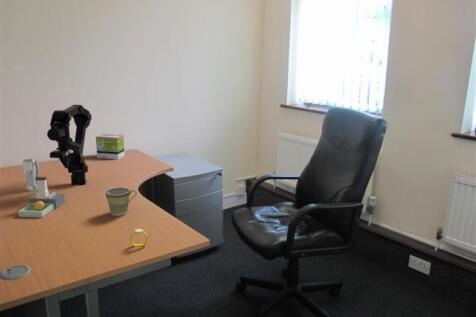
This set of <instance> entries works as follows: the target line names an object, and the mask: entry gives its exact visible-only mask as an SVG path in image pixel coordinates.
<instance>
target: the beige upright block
mask: <svg viewBox="0 0 476 317" xmlns="http://www.w3.org/2000/svg"><path fill="white" fill-rule="evenodd" d="M47 178H48V177H47V176H39V177H36V181H37V190H35V194H36V199H47V198H48V197H47V196H49V193H50V192H49V189H48V182H47V180H48V179H47Z"/></svg>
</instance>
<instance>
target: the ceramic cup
mask: <svg viewBox="0 0 476 317" xmlns="http://www.w3.org/2000/svg"><path fill="white" fill-rule="evenodd" d="M134 192H135V195H134V196H132V197H131V198H130V195H131V194H132V193H134ZM136 196H137V191H136V190H135V189H132V190H131V189H130V188H128V187H113V188H112V187H111V188H108V189H107V190H105V197H106V201H107V204H108V208H109V211H110V214H111V216H115V217H120V216H124V215H126V214H128V209H129V203H130V202H131V201H132V200H133V199H134V198H135V197H136Z"/></svg>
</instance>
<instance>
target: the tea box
mask: <svg viewBox="0 0 476 317" xmlns="http://www.w3.org/2000/svg"><path fill="white" fill-rule="evenodd" d="M124 137H125V136H124V134H113V133H112V134H108V133H102V134H100V135H97V136H95V145H96V158H97V159H106V160H107V159H109V160H116V161H117V160H120V159H122V158H123V157H125V141H124V140H125V139H124Z"/></svg>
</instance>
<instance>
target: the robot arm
mask: <svg viewBox="0 0 476 317" xmlns="http://www.w3.org/2000/svg"><path fill="white" fill-rule="evenodd" d="M72 119H73V122H74V125H75V126H76V127H75V128H76V129H75V136H74V141H73V138H72V137H71V133H70V132H71V131H70V126H71V124H70V122H71V120H72ZM91 121H92V113H91V112H90V111H89V110H88V109H86V108H85V107H84V106H83V105H81V104H71V105H70V106H68V107H67V108H65V109H57V110H56V109H55V110H54V111H53V113H52V115H51V119H50V123H49V126H50V129H48V131H47V133H46V136H47V138H48V139H49V140H50V141H53V142H56V143H57V147H56V150H52V151H50V153H49V158H50V159H58V160H59V161H60V163H61V164H62V166H63V167H64V168H65V169H67V172H68V174H71V175H70V180H71V181H70V183H71V185H72V186H79V185H80V186H83V185H86V184H87V182H88V181H87V178H86V173H89V166H88V165H87V163H86V159H85V157H84V148H85V147H84V146H85V139H86V132H87V129H88V127H89V126H90V125H91Z"/></svg>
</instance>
